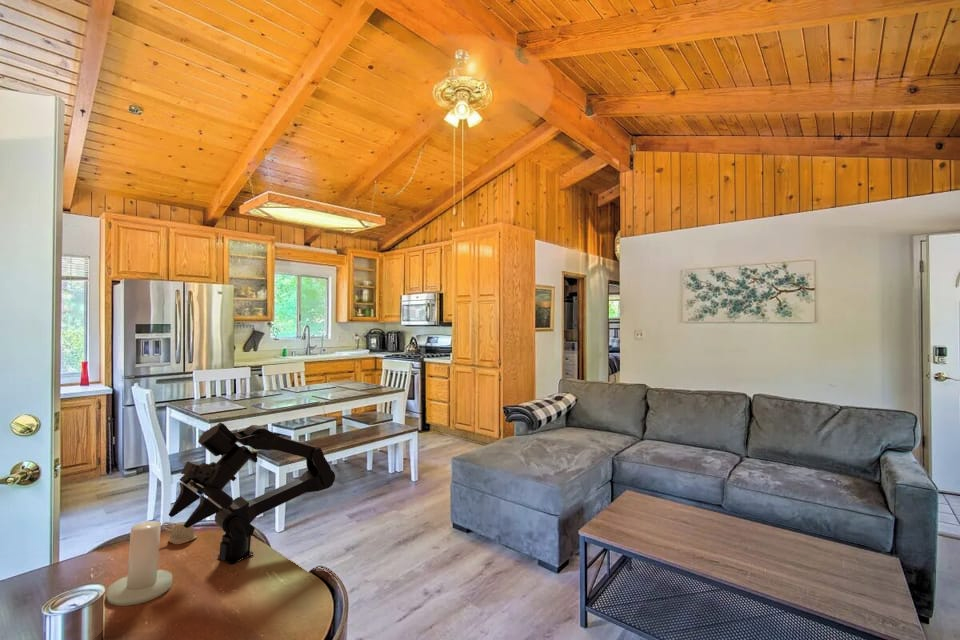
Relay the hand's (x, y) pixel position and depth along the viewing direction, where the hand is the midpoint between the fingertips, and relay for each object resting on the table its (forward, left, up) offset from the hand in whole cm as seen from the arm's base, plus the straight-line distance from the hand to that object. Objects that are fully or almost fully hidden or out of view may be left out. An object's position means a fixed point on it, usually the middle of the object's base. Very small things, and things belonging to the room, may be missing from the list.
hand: (177, 521), depth 109 cm
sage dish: (+7, -1, -14) cm, 15 cm away
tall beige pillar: (+6, -1, -12) cm, 14 cm away
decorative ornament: (-11, -19, -14) cm, 26 cm away
